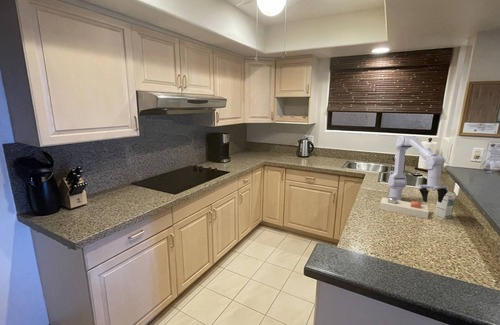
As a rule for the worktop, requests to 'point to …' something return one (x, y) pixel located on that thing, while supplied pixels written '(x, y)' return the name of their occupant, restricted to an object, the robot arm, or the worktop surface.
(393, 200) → the grey button
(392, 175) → the robot arm
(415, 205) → the red button
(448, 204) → the syrup box
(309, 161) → the worktop surface
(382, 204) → the control box
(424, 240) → the worktop surface
